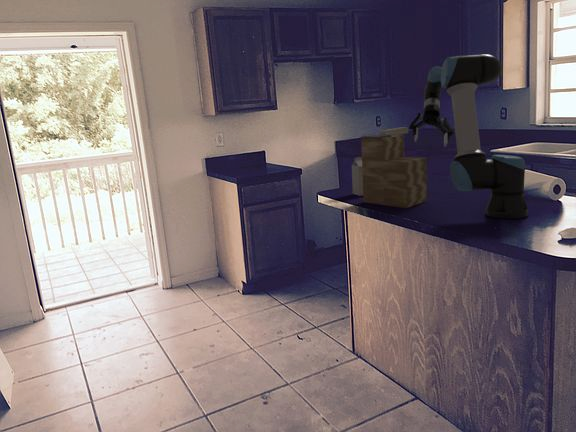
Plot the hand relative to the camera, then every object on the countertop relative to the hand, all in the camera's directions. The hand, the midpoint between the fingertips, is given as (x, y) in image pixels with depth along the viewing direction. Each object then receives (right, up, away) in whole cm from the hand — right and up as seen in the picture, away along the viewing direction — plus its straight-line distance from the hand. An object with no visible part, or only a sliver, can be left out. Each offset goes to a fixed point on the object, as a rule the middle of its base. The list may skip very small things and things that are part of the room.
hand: (430, 142), depth 228 cm
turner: (-19, +4, +4) cm, 20 cm away
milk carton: (-28, -23, +26) cm, 44 cm away
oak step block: (-16, -27, +4) cm, 32 cm away
